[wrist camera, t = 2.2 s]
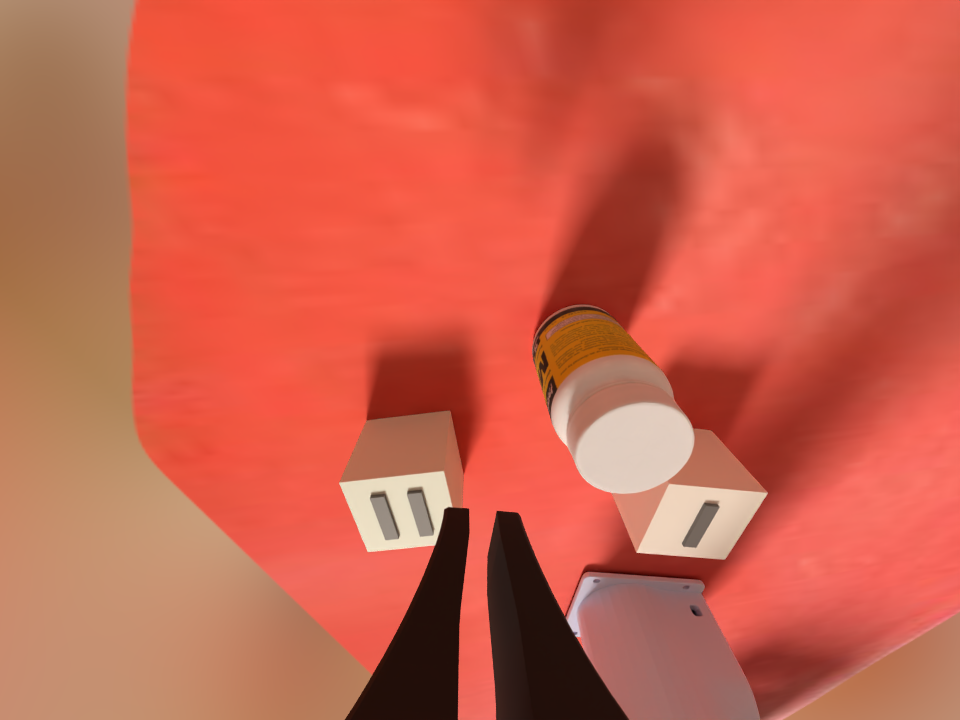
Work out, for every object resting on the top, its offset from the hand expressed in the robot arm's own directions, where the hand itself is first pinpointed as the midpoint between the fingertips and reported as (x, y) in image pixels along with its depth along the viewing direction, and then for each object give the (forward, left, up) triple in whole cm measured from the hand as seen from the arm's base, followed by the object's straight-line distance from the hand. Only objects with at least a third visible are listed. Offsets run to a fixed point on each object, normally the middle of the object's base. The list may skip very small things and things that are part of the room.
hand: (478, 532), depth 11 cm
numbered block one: (-12, +5, -10) cm, 17 cm away
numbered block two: (+3, +6, -10) cm, 12 cm away
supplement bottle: (-5, -2, -11) cm, 12 cm away
